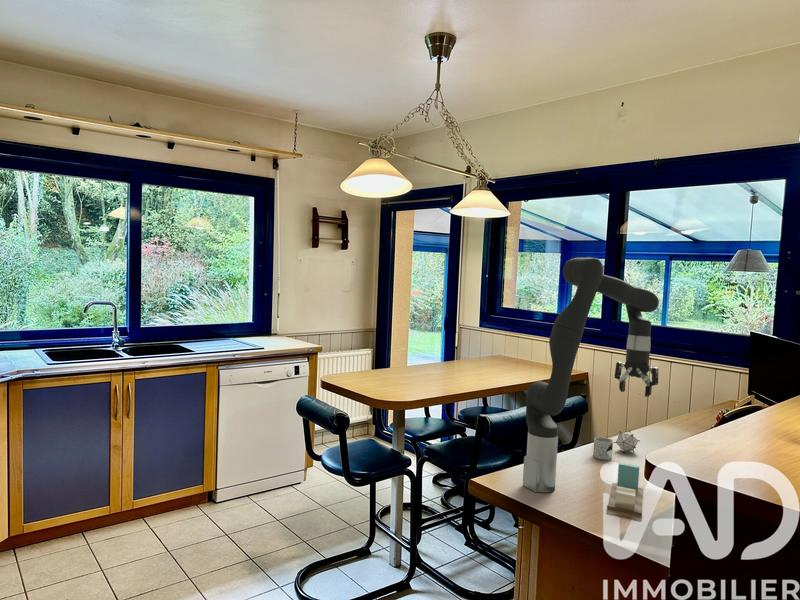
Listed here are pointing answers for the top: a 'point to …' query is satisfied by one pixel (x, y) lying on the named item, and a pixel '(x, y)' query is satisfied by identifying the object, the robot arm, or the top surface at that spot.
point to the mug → (603, 448)
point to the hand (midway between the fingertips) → (634, 394)
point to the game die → (626, 441)
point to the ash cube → (625, 498)
